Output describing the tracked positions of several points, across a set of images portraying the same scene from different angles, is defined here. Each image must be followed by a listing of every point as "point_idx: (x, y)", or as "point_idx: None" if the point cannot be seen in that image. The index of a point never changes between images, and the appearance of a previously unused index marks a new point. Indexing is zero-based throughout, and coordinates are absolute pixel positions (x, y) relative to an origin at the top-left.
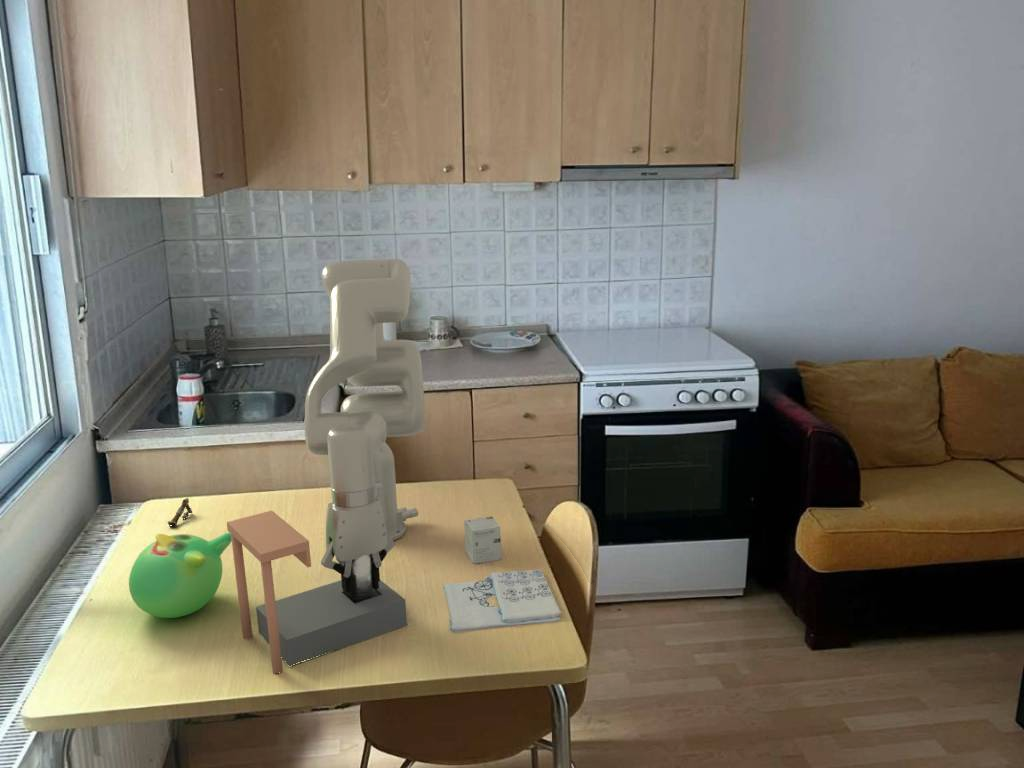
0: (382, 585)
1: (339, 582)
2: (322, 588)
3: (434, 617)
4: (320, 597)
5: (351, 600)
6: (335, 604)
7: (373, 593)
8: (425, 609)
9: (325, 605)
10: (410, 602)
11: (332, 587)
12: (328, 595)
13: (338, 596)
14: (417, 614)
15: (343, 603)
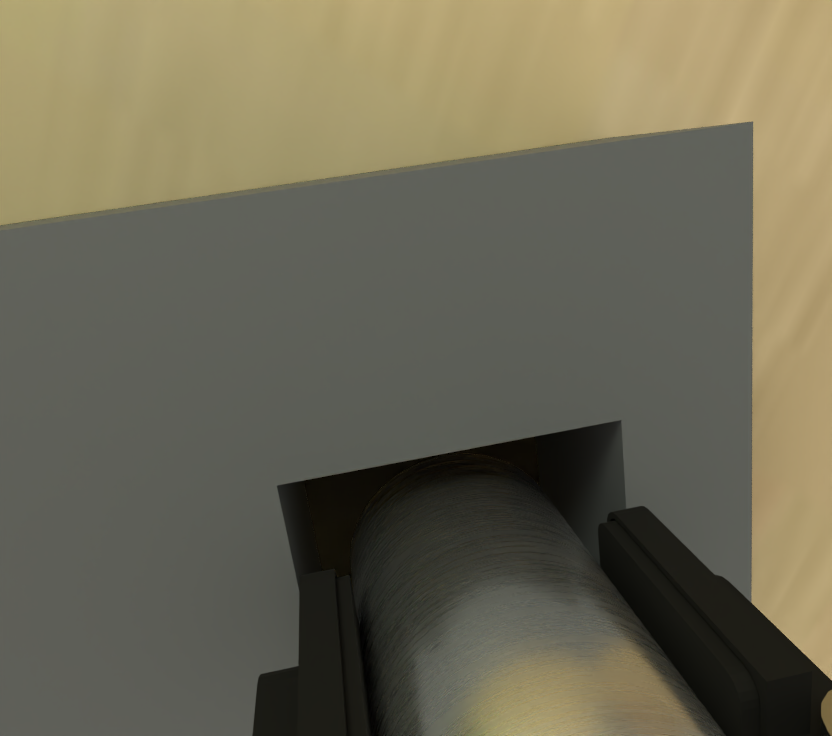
0: (713, 532)
1: (324, 230)
2: (71, 288)
3: (815, 649)
4: (5, 511)
5: (351, 573)
6: (147, 723)
7: (593, 477)
8: (825, 538)
9: (35, 704)
10: (798, 403)
11: (204, 329)
12: (112, 506)
13: (220, 576)
14: (753, 576)
15: (234, 730)
